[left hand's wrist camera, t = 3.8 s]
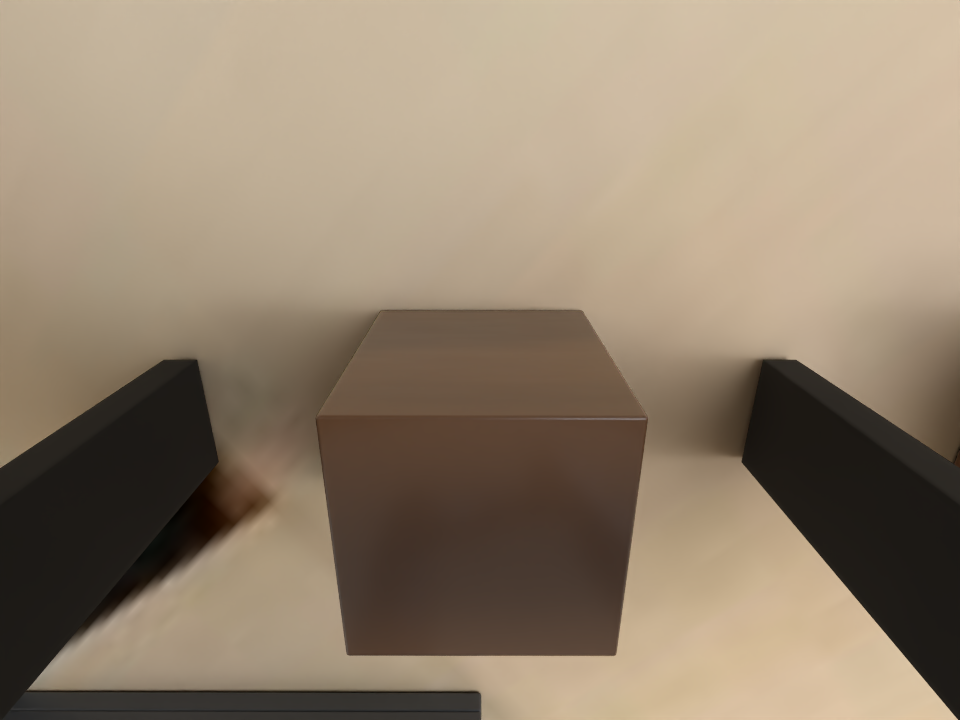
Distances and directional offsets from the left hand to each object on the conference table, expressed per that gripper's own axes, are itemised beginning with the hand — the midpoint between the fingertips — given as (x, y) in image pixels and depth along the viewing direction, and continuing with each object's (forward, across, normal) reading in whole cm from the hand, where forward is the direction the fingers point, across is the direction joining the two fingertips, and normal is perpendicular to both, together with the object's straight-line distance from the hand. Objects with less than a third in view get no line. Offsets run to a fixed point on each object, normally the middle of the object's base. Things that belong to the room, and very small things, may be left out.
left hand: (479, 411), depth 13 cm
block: (0, 0, 0) cm, 0 cm away
